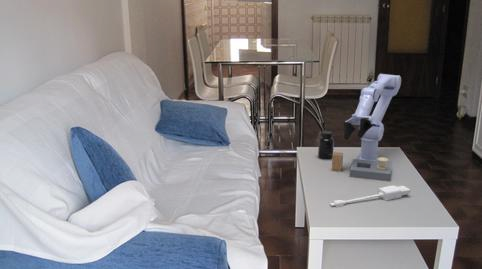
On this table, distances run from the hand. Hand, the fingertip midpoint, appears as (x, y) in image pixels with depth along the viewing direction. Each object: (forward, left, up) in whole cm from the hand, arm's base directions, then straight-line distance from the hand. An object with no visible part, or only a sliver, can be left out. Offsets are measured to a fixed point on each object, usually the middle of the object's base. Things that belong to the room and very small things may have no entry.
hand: (352, 137), depth 202 cm
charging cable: (+25, +10, -16) cm, 31 cm away
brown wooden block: (-3, -6, -16) cm, 17 cm away
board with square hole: (-3, +8, -16) cm, 18 cm away
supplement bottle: (-17, -13, -16) cm, 26 cm away
